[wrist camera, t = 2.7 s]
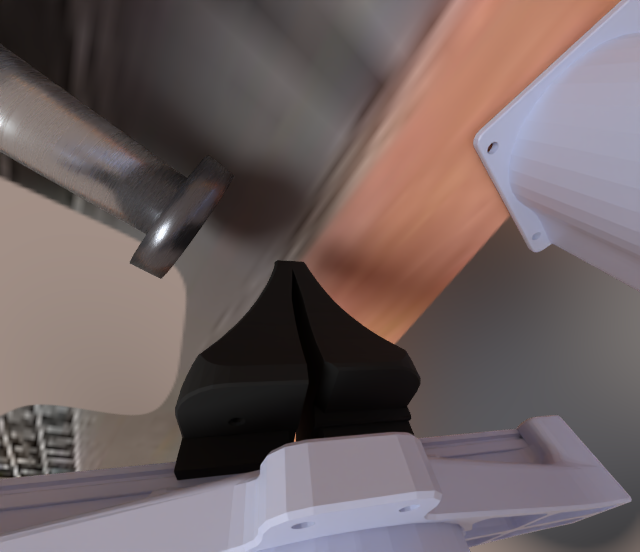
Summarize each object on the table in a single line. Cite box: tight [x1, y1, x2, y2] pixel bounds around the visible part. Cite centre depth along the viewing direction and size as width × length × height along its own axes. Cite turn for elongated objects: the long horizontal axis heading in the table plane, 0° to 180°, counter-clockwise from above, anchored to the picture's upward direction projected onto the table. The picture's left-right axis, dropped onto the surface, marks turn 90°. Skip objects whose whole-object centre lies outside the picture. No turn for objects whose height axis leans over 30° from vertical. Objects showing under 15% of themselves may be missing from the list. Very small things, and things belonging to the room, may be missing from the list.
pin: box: [0, 44, 234, 279], centre depth 7 cm, size 9×5×5 cm, turn 46°
